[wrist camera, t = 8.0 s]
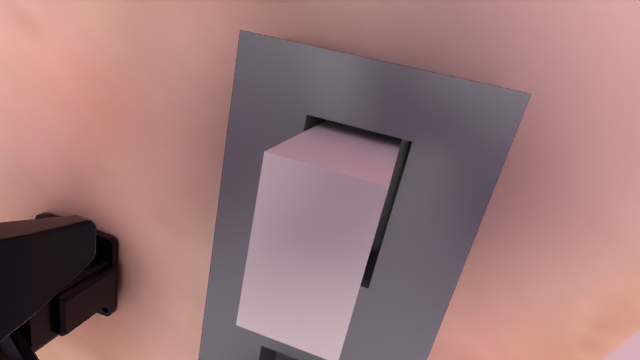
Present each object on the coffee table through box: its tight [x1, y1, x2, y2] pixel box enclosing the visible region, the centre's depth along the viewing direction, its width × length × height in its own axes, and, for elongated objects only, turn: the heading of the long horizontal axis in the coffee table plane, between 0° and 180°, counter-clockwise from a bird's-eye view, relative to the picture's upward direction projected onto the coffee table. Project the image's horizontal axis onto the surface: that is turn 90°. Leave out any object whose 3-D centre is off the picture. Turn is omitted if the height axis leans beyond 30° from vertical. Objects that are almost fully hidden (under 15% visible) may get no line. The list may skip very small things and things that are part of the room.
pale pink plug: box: [236, 120, 402, 360], centre depth 15 cm, size 4×6×8 cm, turn 168°
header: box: [198, 30, 531, 360], centre depth 19 cm, size 11×24×4 cm, turn 168°
